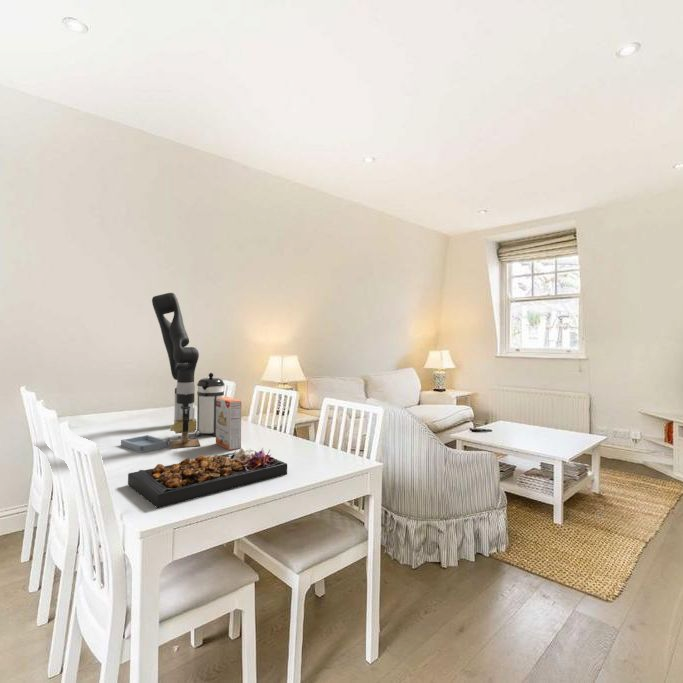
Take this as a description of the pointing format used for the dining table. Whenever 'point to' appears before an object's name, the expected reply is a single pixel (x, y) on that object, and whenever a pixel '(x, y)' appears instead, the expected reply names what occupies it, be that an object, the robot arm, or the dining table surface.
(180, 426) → the gold rectangular hollow block
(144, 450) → the tray
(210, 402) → the coffee press
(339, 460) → the dining table surface
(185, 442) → the brown piece
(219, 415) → the cracker box
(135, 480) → the food platter
